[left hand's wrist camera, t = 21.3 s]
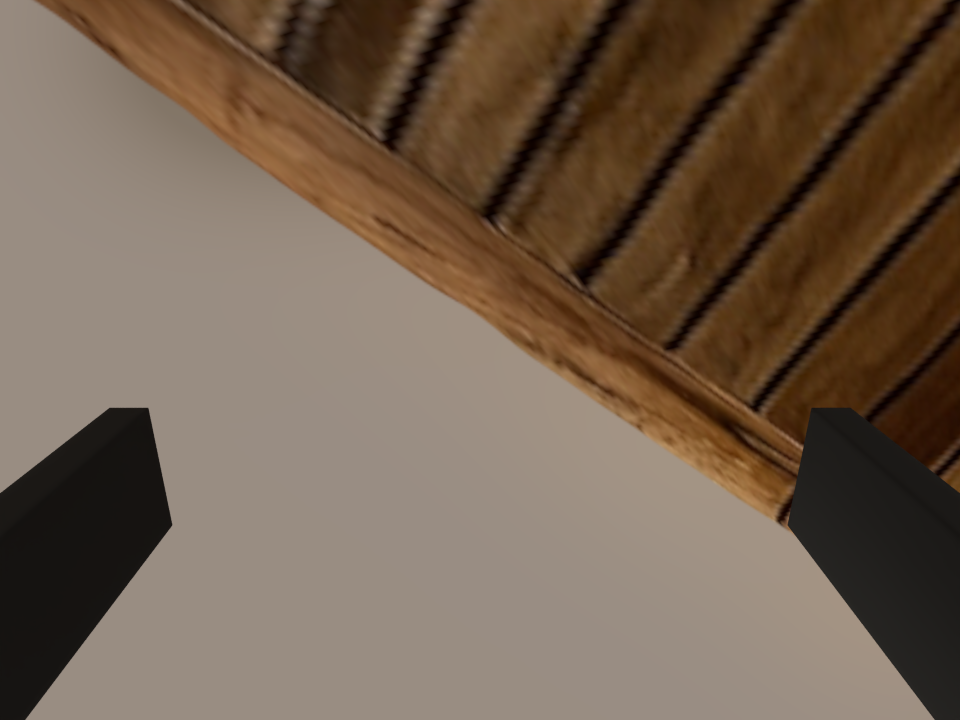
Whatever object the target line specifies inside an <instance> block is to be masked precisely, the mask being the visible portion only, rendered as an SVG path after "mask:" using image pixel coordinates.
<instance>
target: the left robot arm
mask: <svg viewBox="0 0 960 720" xmlns="http://www.w3.org/2000/svg"><path fill="white" fill-rule="evenodd" d="M171 526H172V521H171V516H170V511H169V506H168V502H167V497H166V492H165V487H164V482H163V477H162V472H161V468H160V462H159V458H158V453H157V448H156V443H155V438H154V433H153V428H152V423H151V419H150V414H149V409H148V408H109V409H108V410H106V411H105V412H104V413H103V414H101V415H100V416H99V417H97V418H96V419H95V420H93V421H92V422H91V423H90V424H88V425H87V426H86V427H85V428H83V429H82V430H81V431H79V432H78V433H77V434H76V435H74V436H73V437H72V438H70V439H69V440H68V441H67V442H65V443H64V444H63V445H61V446H60V447H59V448H58V449H56V450H55V451H54V452H52V453H51V454H50V455H49V456H47V457H46V458H45V459H44V460H42V461H41V462H40V463H38V464H37V465H36V466H35V467H33V468H32V469H31V470H29V471H28V472H27V473H26V474H24V475H23V476H22V477H20V478H19V479H18V480H17V481H15V482H14V483H13V484H12V485H10V486H9V487H8V488H6V489H5V490H4V491H3V492H1V493H0V720H25V719H26V718H27V717H28V715H29V714H30V713H31V711H32V710H33V709H34V707H35V706H36V705H37V703H38V702H39V701H40V700H41V698H42V697H43V695H44V694H45V693H46V692H47V690H48V689H49V688H50V686H51V685H52V684H53V682H54V681H55V680H56V678H57V677H58V676H59V674H60V673H61V672H62V670H63V669H64V668H65V666H66V665H67V664H68V662H69V661H70V660H71V659H72V657H73V656H74V655H75V653H76V652H77V651H78V649H79V648H80V647H81V645H82V644H83V643H84V641H85V640H86V639H87V637H88V636H89V635H90V633H91V632H92V631H93V629H94V628H95V627H96V625H97V624H98V623H99V622H100V620H101V619H102V618H103V616H104V615H105V614H106V612H107V611H108V610H109V608H110V607H111V606H112V604H113V603H114V602H115V600H116V599H117V598H118V596H119V595H120V594H121V592H122V591H123V590H124V588H125V587H126V586H127V585H128V583H129V582H130V580H131V579H132V578H133V577H134V575H135V574H136V573H137V571H138V570H139V569H140V567H141V566H142V565H143V563H144V562H145V561H146V559H147V558H148V557H149V555H150V554H151V553H152V551H153V550H154V549H155V547H156V546H157V545H158V544H159V542H160V541H161V539H162V538H163V537H164V536H165V534H166V533H167V532H168V530H169V529H170V528H171ZM788 526H789V528H790V529H791V530H792V532H793V533H794V534H795V536H796V537H797V538H798V540H799V541H800V542H801V544H802V545H803V546H804V547H805V549H806V550H807V551H808V553H809V554H810V555H811V557H812V558H813V559H814V561H815V562H816V563H817V565H818V566H819V567H820V569H821V570H822V571H823V573H824V574H825V575H826V577H827V578H828V579H829V581H830V582H831V583H832V584H833V586H834V587H835V588H836V590H837V591H838V592H839V594H840V595H841V596H842V598H843V599H844V600H845V602H846V603H847V604H848V606H849V607H850V608H851V610H852V611H853V612H854V614H855V615H856V616H857V618H858V619H859V620H860V622H861V623H862V624H863V625H864V627H865V628H866V629H867V631H868V632H869V633H870V635H871V636H872V637H873V639H874V640H875V641H876V643H877V644H878V645H879V647H880V648H881V649H882V651H883V652H884V653H885V655H886V656H887V657H888V659H889V660H890V661H891V662H892V664H893V665H894V666H895V668H896V669H897V670H898V672H899V673H900V674H901V676H902V677H903V678H904V680H905V681H906V682H907V684H908V685H909V686H910V688H911V689H912V690H913V692H914V693H915V694H916V696H917V697H918V698H919V699H920V701H921V702H922V703H923V705H924V706H925V707H926V709H927V710H928V711H929V713H930V714H931V715H932V717H933V718H934V719H935V720H960V493H959V492H957V491H956V490H955V489H954V488H952V487H951V486H950V485H948V484H947V483H946V482H945V481H943V480H942V479H941V478H940V477H938V476H937V475H936V474H934V473H933V472H932V471H931V470H929V469H928V468H927V467H925V466H924V465H923V464H922V463H920V462H919V461H918V460H916V459H915V458H914V457H913V456H911V455H910V454H909V453H908V452H906V451H905V450H904V449H902V448H901V447H900V446H899V445H897V444H896V443H895V442H893V441H892V440H891V439H890V438H888V437H887V436H886V435H884V434H883V433H882V432H881V431H879V430H878V429H877V428H876V427H874V426H873V425H872V424H870V423H869V422H868V421H867V420H865V419H864V418H863V417H861V416H860V415H859V414H858V413H856V412H855V411H854V410H852V409H851V408H812V409H811V414H810V419H809V423H808V428H807V433H806V438H805V443H804V448H803V453H802V458H801V462H800V467H799V472H798V477H797V482H796V487H795V492H794V497H793V501H792V506H791V511H790V516H789V521H788Z"/></svg>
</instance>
